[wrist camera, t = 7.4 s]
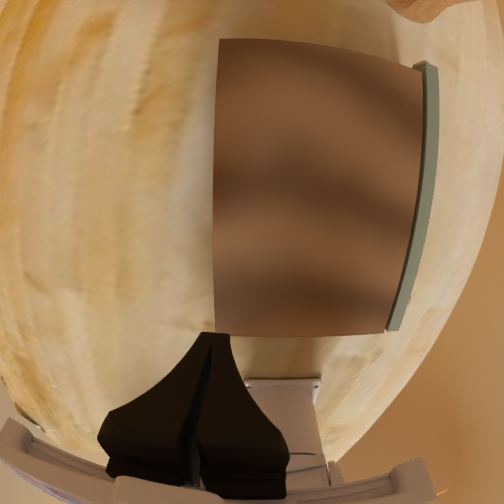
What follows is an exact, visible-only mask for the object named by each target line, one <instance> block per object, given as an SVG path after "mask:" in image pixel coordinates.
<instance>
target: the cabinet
mask: <svg viewBox="0 0 504 504" xmlns="http://www.w3.org/2000/svg"><path fill="white" fill-rule="evenodd" d="M422 132H423V83H422V72H420V71H417V70H414V69H412V68H409V67H406V66H403V65H400V64H397V63H394V62H390V61H387V60H384V59H380V58H377V57H373V56H369V55H365V54H361V53H357V52H353V51H348V50H343V49H338V48H333V47H327V46H321V45H315V44H308V43H300V42H291V41H281V40H266V39H219V52H218V67H217V84H216V104H215V129H214V165H213V271H214V308H215V333H228V334H229V335H230V336H251V337H323V336H348V335H365V334H379V333H384V330H385V327H386V324H387V321H388V318H389V315H390V312H391V309H392V305H393V302H394V299H395V295H396V292H397V288H398V285H399V281H400V277H401V273H402V269H403V265H404V261H405V257H406V252H407V248H408V243H409V238H410V233H411V228H412V222H413V217H414V211H415V204H416V197H417V190H418V182H419V173H420V163H421V150H422Z"/></svg>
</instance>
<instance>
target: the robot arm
mask: <svg viewBox="0 0 504 504" xmlns="http://www.w3.org/2000/svg"><path fill="white" fill-rule="evenodd" d="M321 384H322V382H321V379H318V378H316V379H289V380H255V379H248V380H245V381H244V382H243V380H242V378H241V376H240V374H239V371H238V369H237V366H236V363H235V360H234V357H233V354H232V350H231V345H230V335H229V334H228V333H212V332H201V333H200V334H199V336H198V338H197V339H196V341H195V342H194V344H193V345H192V347H191V348H190V349H189V351H188V352H187V353H186V355H185V356H184V357H183V358H182V360H181V361H180V362H179V363H178V364H177V365H176V366H175V367H174V368H173V369H172V371H171V372H170V373H169V374H168V375H166V376H165V377H164V378H163V379H162V380H161V381H160V382H159V383H157V384H156V385H155V386H154V387H152V388H151V389H150V390H148V391H147V392H145V393H144V394H142V395H141V396H139V397H138V398H136V399H134V400H133V401H131V402H129V403H127V404H125V405H123V406H121V407H119V408H117V409H115V410H112V411H110V412H109V413H108V415H107V417H106V418H105V420H104V422H103V424H102V426H101V428H100V431H99V433H98V436H97V440H98V442H99V444H100V445H101V447H102V448H103V449H104V451H105V452H106V453H107V454H108V456H109V457H110V459H109V461H108V464H107V467H104V466H101V465H98V464H95V463H93V462H90V461H87V460H84V459H82V458H79V457H77V456H74V455H72V454H70V453H67V452H65V451H63V450H61V449H58V448H56V447H54V446H52V445H50V444H48V443H45V442H44V441H42V440H40V439H38V438H36V437H34V436H33V434H32V433H31V432H30V431H29V430H28V429H27V428H26V427H25V426H24V425H22V424H20V423H19V422H17V421H15V420H13V419H11V418H8V420H7V421H6V423H5V425H4V426H3V428H2V430H1V431H0V460H1V461H2V462H3V463H5V464H6V465H7V466H8V467H9V468H10V469H11V470H12V471H14V472H15V473H16V474H17V475H19V476H20V477H22V478H23V479H25V480H26V481H28V482H30V483H31V484H33V485H35V486H36V487H38V488H39V489H41V490H43V491H44V492H46V493H48V494H50V495H51V496H53V497H55V498H57V499H59V500H60V501H62V502H64V503H66V504H430V503H432V502H433V501H435V500H436V499H437V495H436V493H435V490H434V487H433V484H432V482H431V479H430V476H429V474H428V471H427V469H426V466H425V463H424V461H423V458H417V459H414V460H411V461H408V462H405V463H402V464H399V465H397V466H396V467H394V468H393V469H392V470H391V471H390V473H387V474H383V475H380V476H376V477H372V478H367V479H363V480H359V481H354V482H349V483H345V482H344V478H343V473H342V469H341V466H340V465H339V464H338V463H335V462H334V461H330V462H328V468H329V474H328V469H327V465H326V461H325V457H324V454H323V450H322V444H321V439H320V434H319V429H318V424H317V419H316V414H315V409H314V406H315V403H316V399H317V396H318V393H319V390H320V387H321ZM316 385H317V386H316ZM248 386H249V387H248ZM329 478H330V480H329ZM200 479H201V480H202V483H203V486H204V488H200Z"/></svg>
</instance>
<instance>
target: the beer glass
mask: <svg viewBox="0 0 504 504" xmlns="http://www.w3.org/2000/svg"><path fill="white" fill-rule="evenodd" d="M386 1H387V2H388V3H389V4H390V5H391V6H392V7H393V8H394V9H395V10H396V11H397V12H399V13H400V14H401V15H403V16H405V17H406V18H408V19H410V20H412V21H415V22H418V23H429V22H432V21H433V20H434V19H435V18H436V17H437V16H438V15H439V14H440V13H441V12H442V11H443V10H445V9H446V8H448V7H450V6H452V5H455V4H459V3H464V2H470V1H476V0H386Z"/></svg>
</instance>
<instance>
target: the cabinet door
mask: <svg viewBox="0 0 504 504" xmlns="http://www.w3.org/2000/svg"><path fill="white" fill-rule="evenodd" d="M412 69H414V70H417V71H420V72H422V83H423V132H422V150H421V163H420V173H419V182H418V190H417V197H416V204H415V211H414V217H413V222H412V228H411V233H410V238H409V243H408V248H407V252H406V257H405V261H404V265H403V269H402V273H401V277H400V281H399V285H398V288H397V292H396V295H395V299H394V302H393V305H392V309H391V312H390V315H389V318H388V321H387V324H386V327H385V329H386V330H387V332H388V331H398V330H399V328H400V325H401V322H402V319H403V316H404V313H405V310H406V308H407V307H408V306H409V304H410V299H411V296H410V295H411V292H412V288H413V285H414V281H415V278H416V274H417V271H418V267H419V263H420V259H421V255H422V251H423V247H424V242H425V237H426V233H427V228H428V223H429V217H430V212H431V206H432V199H433V192H434V185H435V177H436V167H437V156H438V141H439V80H438V68H437V67H435V66H433V65H430V64H429V63H428V62H427V61H421V62H419V63H416V64H414V65H413V68H412Z"/></svg>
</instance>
